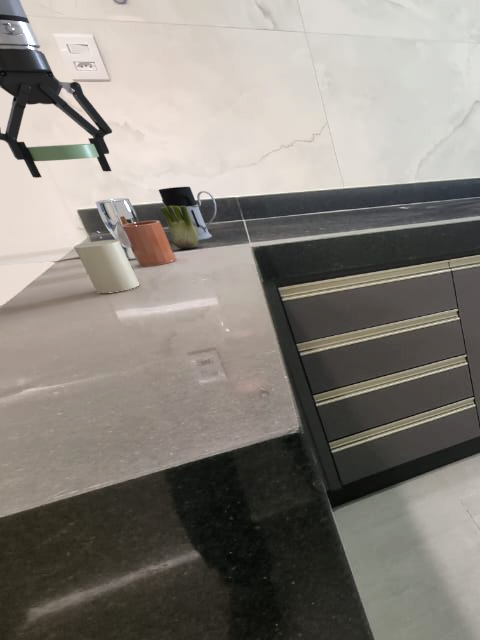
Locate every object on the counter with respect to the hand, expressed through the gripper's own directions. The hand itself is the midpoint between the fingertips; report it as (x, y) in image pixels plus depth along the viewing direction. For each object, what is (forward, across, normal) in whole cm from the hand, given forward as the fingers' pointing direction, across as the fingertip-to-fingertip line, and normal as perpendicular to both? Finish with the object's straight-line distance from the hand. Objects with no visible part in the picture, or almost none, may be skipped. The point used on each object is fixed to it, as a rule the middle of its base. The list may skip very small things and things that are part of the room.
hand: (73, 174), depth 109 cm
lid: (-3, 0, 0) cm, 3 cm away
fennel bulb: (+24, +22, +30) cm, 44 cm away
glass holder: (+24, +31, +44) cm, 59 cm away
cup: (+24, +12, +18) cm, 32 cm away
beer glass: (+24, +11, +32) cm, 42 cm away
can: (+24, -2, -4) cm, 24 cm away
